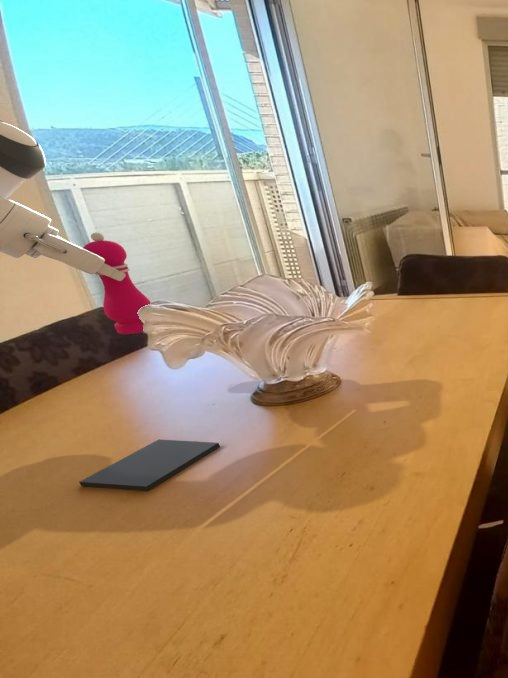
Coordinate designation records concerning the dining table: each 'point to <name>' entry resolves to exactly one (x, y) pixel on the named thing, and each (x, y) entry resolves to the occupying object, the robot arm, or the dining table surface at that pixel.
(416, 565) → the dining table surface
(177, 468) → the slate mat
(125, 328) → the pepper mill
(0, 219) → the robot arm
